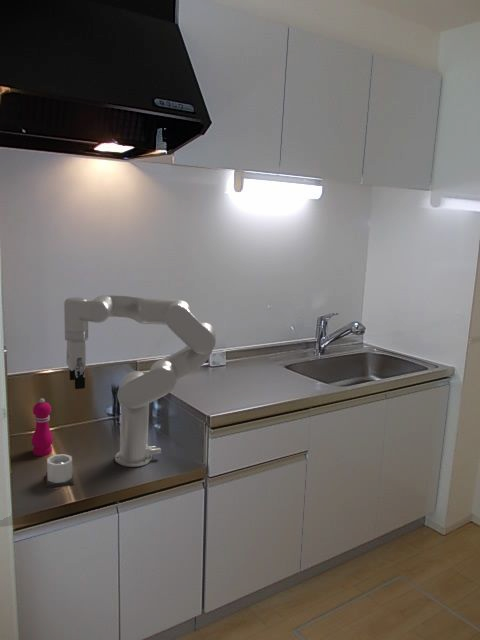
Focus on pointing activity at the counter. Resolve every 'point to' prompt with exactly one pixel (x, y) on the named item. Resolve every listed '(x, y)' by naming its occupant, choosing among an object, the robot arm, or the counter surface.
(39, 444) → the pepper mill
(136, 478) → the counter surface
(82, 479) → the counter surface
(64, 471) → the white hollow octagonal tube
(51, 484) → the duct stub
